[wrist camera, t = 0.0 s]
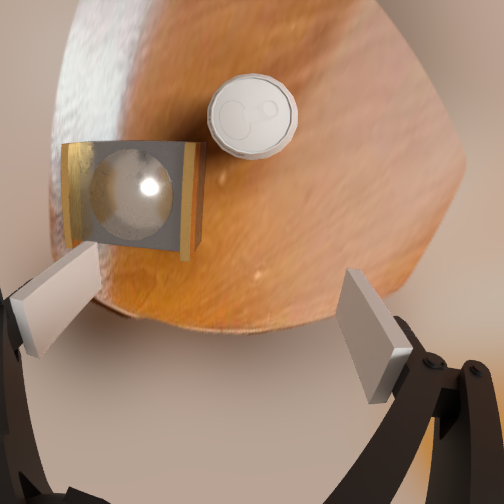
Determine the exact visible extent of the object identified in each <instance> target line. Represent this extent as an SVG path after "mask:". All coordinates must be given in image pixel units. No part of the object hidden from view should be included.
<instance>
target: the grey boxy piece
mask: <svg viewBox="0 0 504 504" xmlns="http://www.w3.org/2000/svg"><path fill="white" fill-rule="evenodd" d="M206 155H207V142H191V141H160V140H117V141H88V142H77V143H66V144H62V147H61V188H62V211H63V225H64V236H65V246H66V248H74V247H75V246H77V245H78V244H80V243H81V242H83V241H84V242H85V241H92V242H97V243H103V244H112V245H122V246H131V247H141V248H150V249H160V250H170V251H179V252H180V261H186V262H190V260H191V258H192V257H193V255H194V253H195V251H196V249H197V247H198V245H199V244H200V242H201V232H202V213H203V196H204V181H205V167H206Z"/></svg>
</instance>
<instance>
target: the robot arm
mask: <svg viewBox="0 0 504 504" xmlns="http://www.w3.org/2000/svg"><path fill="white" fill-rule="evenodd" d="M100 289H101V279H100V269H99V259H98V246H97V242H92V241H85V242H83V243H82V244H80V245H79V246H77V247H76V248H74V249H73V250H72V251H70V252H69V253H67V254H66V255H65V256H63V257H62V258H60V259H59V260H58V261H56V262H55V263H53V264H52V265H51V266H49V267H48V268H47V269H45V270H44V271H43V272H41V273H40V274H39V275H37V276H36V277H35V278H33V279H31V280H29V281H28V282H26V283H25V284H24V285H23V286H21V287H20V288H19V289H18V290H16V291H15V292H14V293H12V294H11V295H10V296H9V297H7V298H6V299H5V300H3V297H2V293H1V289H0V504H110V503H109V502H107V501H105V500H104V499H101V498H98V497H95V496H93V495H90V494H87V493H84V492H82V491H79V490H77V489H74V488H72V487H69V488H68V490H67V492H66V494H63V493H53V491H52V490H51V488H50V486H49V484H48V482H47V479H46V477H45V473H44V471H43V467H42V464H41V460H40V457H39V453H38V450H37V446H36V442H35V438H34V434H33V429H32V425H31V421H30V415H29V410H28V404H27V398H26V392H25V385H24V378H23V370H22V360H21V353H20V351H19V347H20V346H21V344H22V343H23V344H24V347H25V350H26V353H27V354H28V355H31V356H34V357H36V358H39V359H40V358H41V357H42V355H43V354H44V353H45V352H46V350H47V349H48V348H49V347H50V346H51V344H52V343H53V342H54V341H55V340H56V338H57V337H58V336H59V335H60V334H61V332H62V331H63V330H64V329H65V328H66V327H67V326H68V324H69V323H70V322H71V321H72V320H73V319H74V318H75V317H76V315H77V314H78V313H79V312H80V311H81V310H82V309H83V308H84V306H85V305H86V304H87V303H88V302H89V301H90V300H91V299H92V298H93V297H94V296H95V294H96V293H97V292H98V291H99V290H100ZM335 315H336V317H337V320H338V323H339V325H340V328H341V330H342V333H343V335H344V338H345V341H346V343H347V346H348V348H349V351H350V354H351V356H352V359H353V362H354V364H355V367H356V370H357V373H358V375H359V378H360V381H361V383H362V386H363V389H364V392H365V395H366V398H367V401H368V404H378V403H386V402H387V400H388V398H389V397H390V395H391V393H393V395H394V398H395V400H394V402H393V404H392V405H391V407H390V409H389V411H388V412H387V414H386V416H385V417H384V419H383V421H382V422H381V424H380V426H379V427H378V429H377V430H376V432H375V434H374V435H373V437H372V438H371V440H370V441H369V443H368V444H367V446H366V447H365V449H364V450H363V452H362V453H361V455H360V456H359V457H358V459H357V460H356V462H355V463H354V464H353V466H352V467H351V469H350V470H349V471H348V473H347V474H346V475H345V477H344V478H343V479H342V481H341V482H340V483H339V484H338V486H337V487H336V488H335V490H334V491H333V492H332V493H331V495H330V496H329V497H328V498H327V499H326V501H325V502H324V503H323V504H390V503H391V501H392V499H393V497H394V496H395V494H396V492H397V490H398V488H399V487H400V485H401V483H402V481H403V479H404V477H405V475H406V473H407V471H408V469H409V467H410V465H411V463H412V461H413V459H414V457H415V454H416V452H417V450H418V448H419V445H420V443H421V441H422V439H423V436H424V434H425V431H426V429H427V427H428V424H429V421H430V419H431V417H435V422H434V439H433V451H432V461H431V470H430V478H429V485H428V491H427V497H426V502H425V504H504V446H503V439H502V430H501V424H500V417H499V412H498V406H497V401H496V396H495V391H494V386H493V382H492V378H491V374H490V371H489V369H488V368H487V367H486V366H485V365H484V364H482V363H481V362H478V361H475V360H468V361H466V362H465V363H464V365H463V367H462V368H461V370H460V369H454V368H448V367H447V364H446V362H445V361H444V360H443V359H442V358H441V357H440V356H438V355H436V354H434V353H430V352H426V351H425V349H424V348H423V346H422V345H421V343H420V342H419V340H418V339H417V337H415V334H414V333H413V331H411V328H410V327H409V325H408V324H407V323H406V322H405V321H404V320H403V319H401V318H400V317H398V316H392V314H391V313H390V312H389V310H388V308H387V307H386V306H385V304H384V303H383V301H382V300H381V298H380V297H379V295H378V294H377V292H376V291H375V290H374V288H373V287H372V285H371V284H370V282H369V281H368V280H367V278H366V277H365V275H364V274H363V273H362V271H361V270H360V269H349V268H347V269H346V274H345V278H344V282H343V286H342V290H341V294H340V298H339V302H338V306H337V310H336V314H335Z"/></svg>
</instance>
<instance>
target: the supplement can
mask: <svg viewBox="0 0 504 504" xmlns="http://www.w3.org/2000/svg"><path fill="white" fill-rule="evenodd" d="M297 123H298V109H297V106H296V103H295V101H294V98H293V95H292V94H291V93H290V92H289V91H288V90H287V88H286V87H285V86H284V85H283V84H282V83H280V82H279V81H277V80H275V79H273V78H272V77H270V76H266V75H261V74H255V73H251V74H244V75H238V76H236V77H234V78H232V79H230V80H228V81H226V82H224V83H223V84H222V85H221V86H220V87H219V88H218V90H217V91H216V92H215V93H214V94H213V96H212V98H211V101H210V103H209V106H208V109H207V124H208V127H209V130H210V133H211V135H212V138H213V139H214V140H215V141H216V143H217V144H218V145H219V146H220V147H221V149H222V150H224V151H226V152H228V153H229V154H231V155H233V156H235V157H237V158H243V159H248V160H256V159H263V158H268V157H270V156H272V155H274V154H276V153H278V152H280V151H281V150H282V149H283V148H284V147H285V146H286V145H287V144H288V143H289V142H290V141H291V140H292V137H293V135H294V132H295V130H296V128H297Z"/></svg>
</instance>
